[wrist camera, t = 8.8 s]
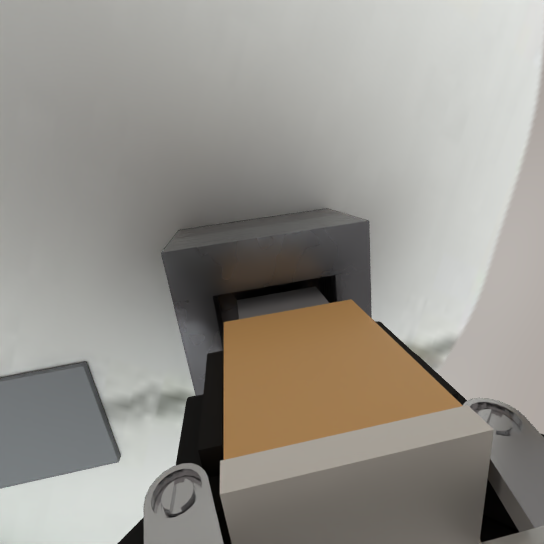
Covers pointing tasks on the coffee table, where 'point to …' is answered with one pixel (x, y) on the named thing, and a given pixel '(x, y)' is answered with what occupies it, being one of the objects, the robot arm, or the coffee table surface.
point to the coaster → (52, 425)
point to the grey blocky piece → (261, 271)
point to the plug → (342, 433)
